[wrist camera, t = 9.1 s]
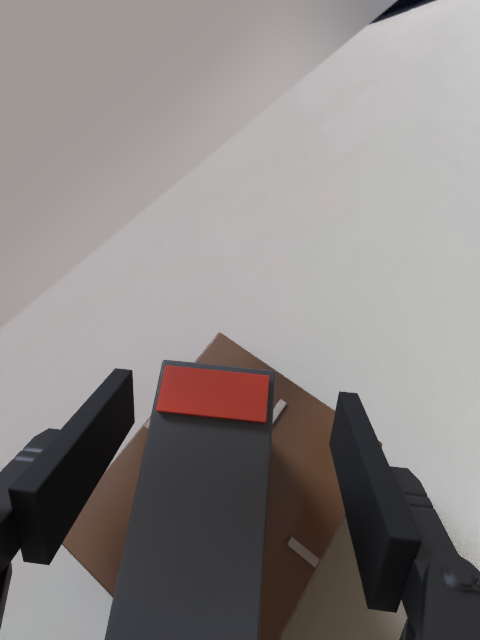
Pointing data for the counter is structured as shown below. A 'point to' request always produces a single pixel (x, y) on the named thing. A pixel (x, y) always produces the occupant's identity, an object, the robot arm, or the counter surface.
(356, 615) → the counter surface
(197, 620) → the block
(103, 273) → the counter surface
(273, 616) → the dock
